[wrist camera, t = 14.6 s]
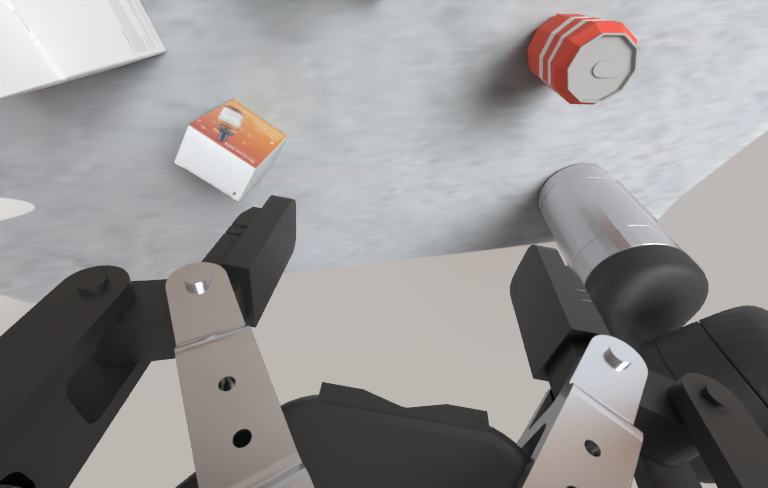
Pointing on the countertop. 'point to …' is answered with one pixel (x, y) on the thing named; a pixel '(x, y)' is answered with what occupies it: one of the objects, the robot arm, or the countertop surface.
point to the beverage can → (583, 57)
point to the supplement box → (70, 40)
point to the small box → (229, 148)
